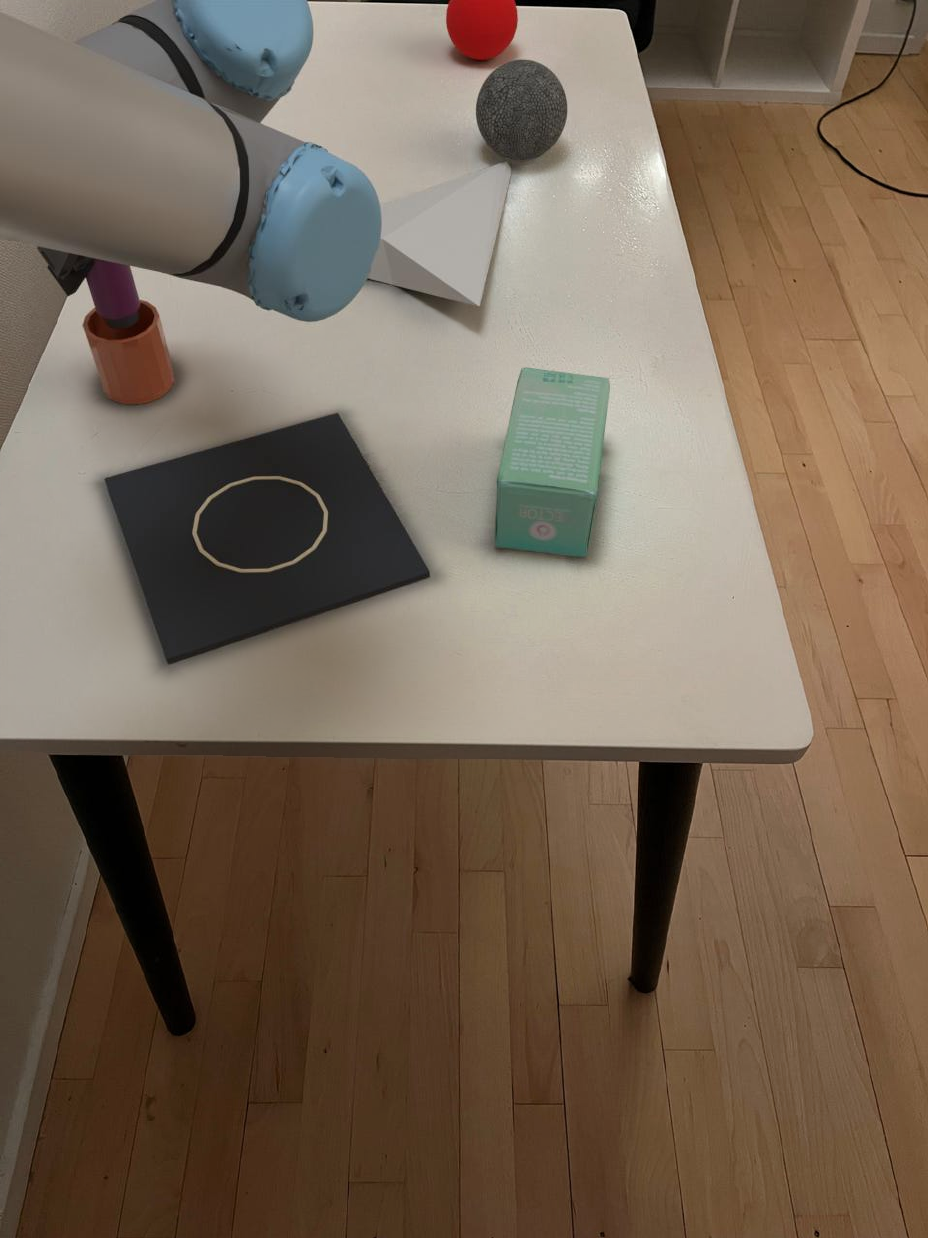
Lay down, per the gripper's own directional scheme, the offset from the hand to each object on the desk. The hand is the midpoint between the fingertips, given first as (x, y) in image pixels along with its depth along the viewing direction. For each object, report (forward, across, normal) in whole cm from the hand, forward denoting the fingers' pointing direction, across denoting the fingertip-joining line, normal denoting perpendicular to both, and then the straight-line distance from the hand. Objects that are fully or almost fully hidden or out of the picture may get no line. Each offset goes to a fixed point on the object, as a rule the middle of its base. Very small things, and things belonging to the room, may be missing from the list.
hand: (83, 268), depth 88 cm
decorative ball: (+4, +54, -10) cm, 55 cm away
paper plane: (+4, +31, -10) cm, 33 cm away
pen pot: (+4, 0, -10) cm, 10 cm away
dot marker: (-1, 0, -5) cm, 5 cm away
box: (-21, +12, -36) cm, 43 cm away
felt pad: (-11, -5, -25) cm, 28 cm away
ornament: (+18, +70, +4) cm, 73 cm away
